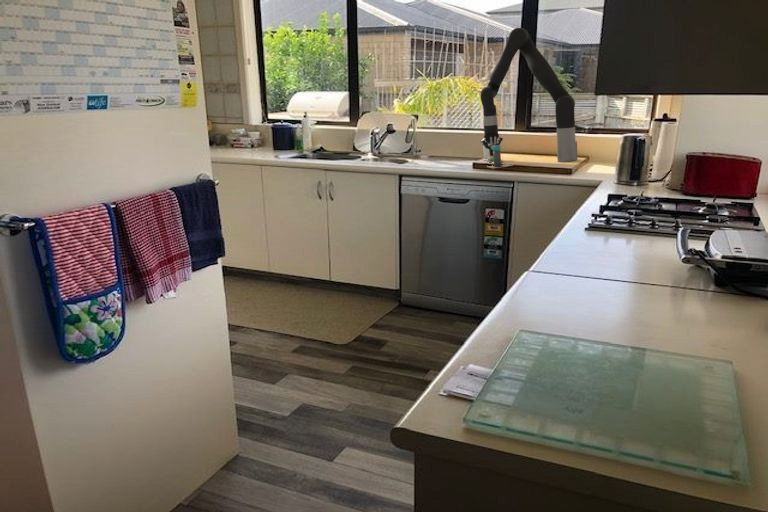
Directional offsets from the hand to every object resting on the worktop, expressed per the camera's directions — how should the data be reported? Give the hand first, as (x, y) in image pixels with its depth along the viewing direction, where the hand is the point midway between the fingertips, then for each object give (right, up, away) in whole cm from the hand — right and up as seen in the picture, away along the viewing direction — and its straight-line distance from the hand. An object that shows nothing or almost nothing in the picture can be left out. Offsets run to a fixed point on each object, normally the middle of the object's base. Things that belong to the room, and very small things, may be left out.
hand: (492, 156), depth 327 cm
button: (0, -3, +1) cm, 4 cm away
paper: (+3, -7, -8) cm, 11 cm away
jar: (+2, -1, +13) cm, 13 cm away
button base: (0, -4, +1) cm, 5 cm away
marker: (+1, -7, -10) cm, 12 cm away
